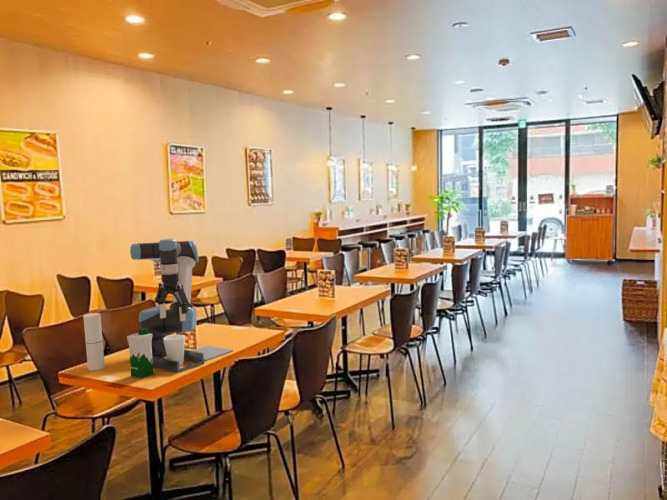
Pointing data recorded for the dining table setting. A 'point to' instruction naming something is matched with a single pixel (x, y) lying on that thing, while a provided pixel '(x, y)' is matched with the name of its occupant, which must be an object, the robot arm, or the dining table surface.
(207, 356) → the mat
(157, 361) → the cup stand
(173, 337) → the foam cup
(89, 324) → the cylindrical container
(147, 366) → the milk carton
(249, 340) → the dining table surface
